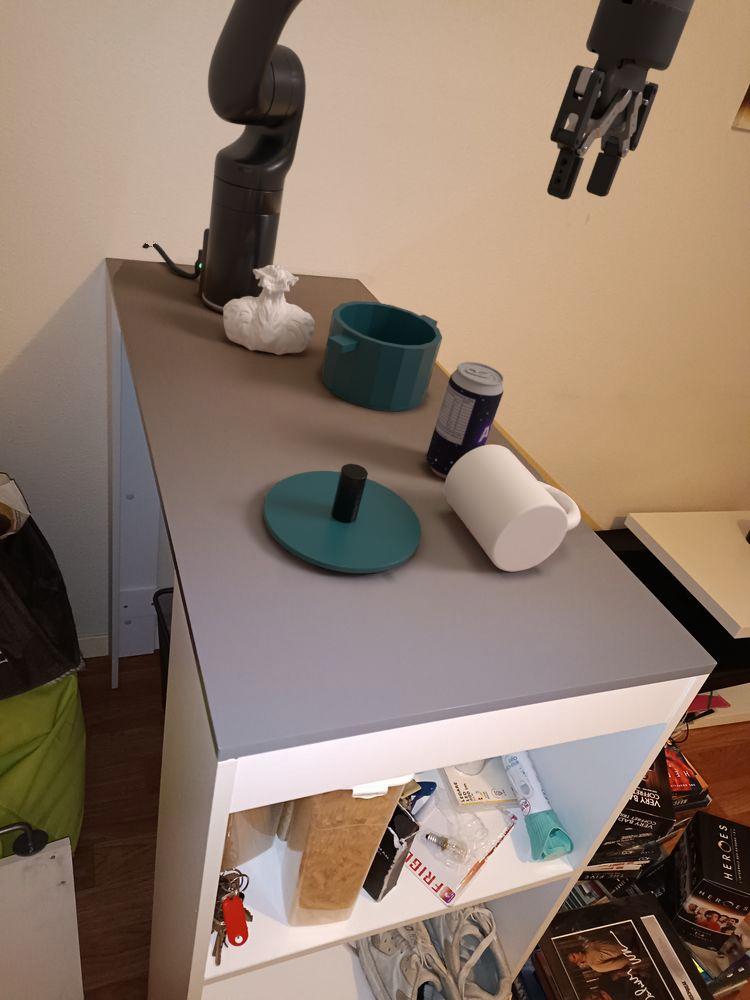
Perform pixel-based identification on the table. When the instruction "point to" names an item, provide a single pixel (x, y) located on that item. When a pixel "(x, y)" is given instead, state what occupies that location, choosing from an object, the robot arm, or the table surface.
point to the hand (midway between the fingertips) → (577, 195)
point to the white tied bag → (269, 316)
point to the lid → (342, 521)
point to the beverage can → (464, 415)
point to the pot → (380, 355)
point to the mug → (508, 507)
